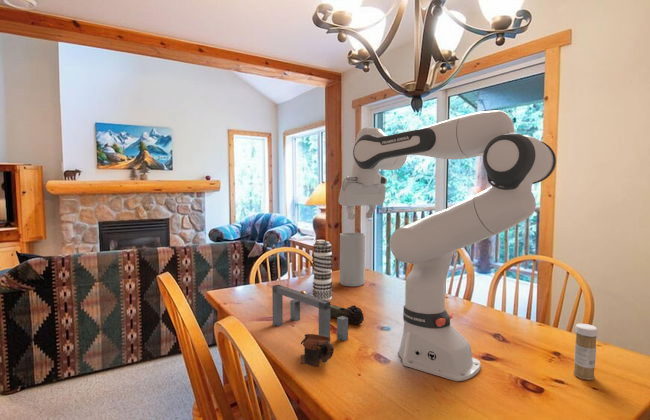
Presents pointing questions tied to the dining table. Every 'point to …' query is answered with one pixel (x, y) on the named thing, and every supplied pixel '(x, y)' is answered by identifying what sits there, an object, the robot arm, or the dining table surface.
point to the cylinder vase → (352, 259)
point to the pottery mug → (316, 349)
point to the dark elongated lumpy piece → (347, 313)
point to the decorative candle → (322, 270)
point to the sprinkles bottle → (585, 351)
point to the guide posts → (341, 321)
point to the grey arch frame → (305, 298)
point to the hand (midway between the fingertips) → (360, 218)
